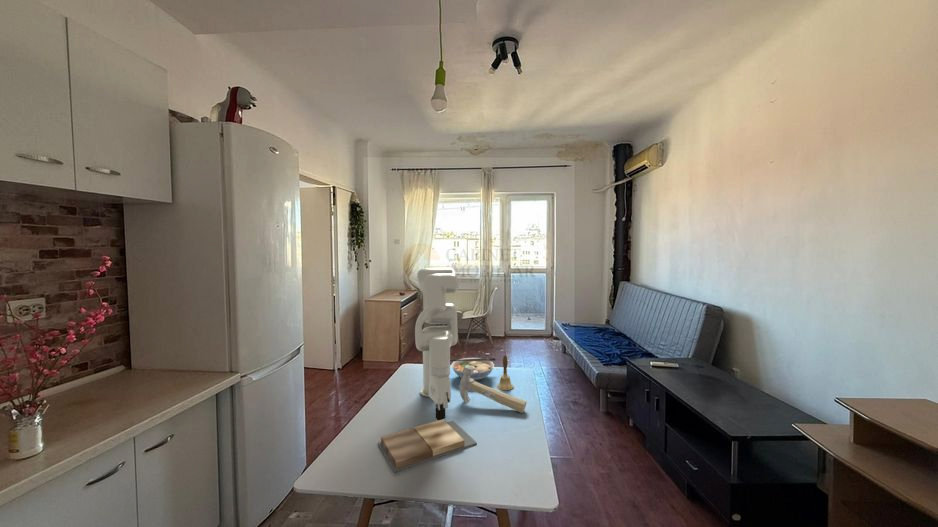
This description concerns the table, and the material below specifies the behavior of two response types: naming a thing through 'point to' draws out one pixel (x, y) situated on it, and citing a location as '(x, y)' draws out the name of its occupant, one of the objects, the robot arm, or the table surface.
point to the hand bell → (505, 377)
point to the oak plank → (439, 437)
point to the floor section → (414, 447)
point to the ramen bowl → (480, 367)
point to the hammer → (487, 392)
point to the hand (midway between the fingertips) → (440, 418)
